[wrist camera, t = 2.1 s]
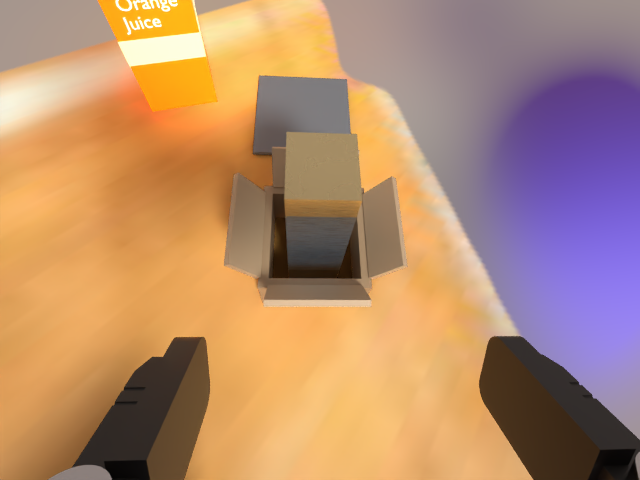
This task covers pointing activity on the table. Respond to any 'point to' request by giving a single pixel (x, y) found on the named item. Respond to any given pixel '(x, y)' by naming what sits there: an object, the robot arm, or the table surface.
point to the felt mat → (298, 109)
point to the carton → (366, 261)
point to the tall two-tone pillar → (320, 201)
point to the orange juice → (163, 50)
